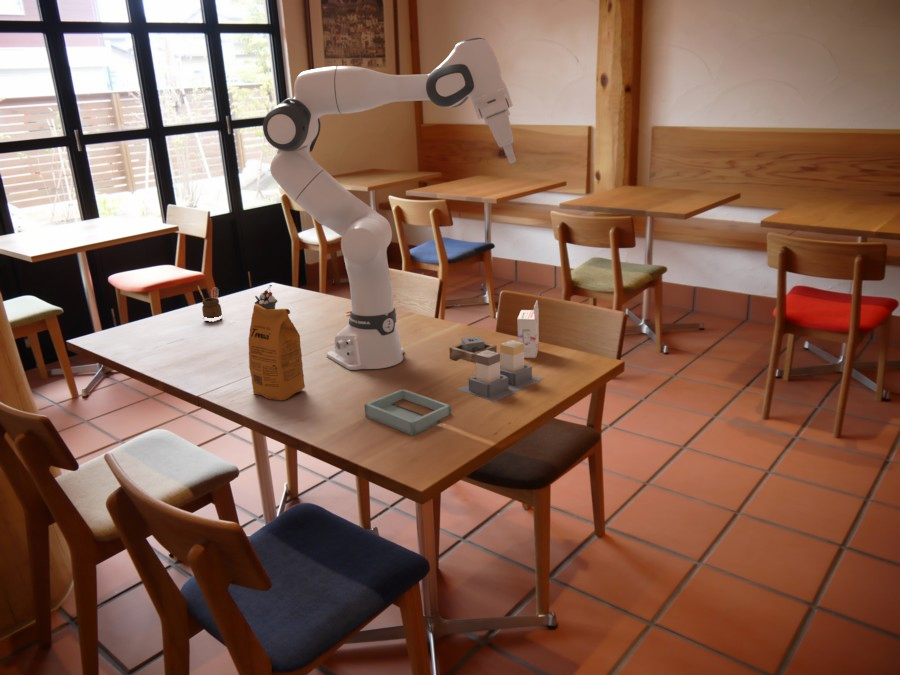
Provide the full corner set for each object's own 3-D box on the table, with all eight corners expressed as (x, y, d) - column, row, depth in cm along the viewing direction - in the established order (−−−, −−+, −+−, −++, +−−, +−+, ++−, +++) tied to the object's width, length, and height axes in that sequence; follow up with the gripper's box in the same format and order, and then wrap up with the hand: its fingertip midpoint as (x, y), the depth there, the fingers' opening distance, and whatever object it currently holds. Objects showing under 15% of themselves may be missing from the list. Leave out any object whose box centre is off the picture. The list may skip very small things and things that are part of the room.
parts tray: (365, 416, 167) (364, 404, 166) (403, 400, 174) (402, 388, 173) (412, 435, 156) (412, 422, 155) (451, 417, 164) (450, 405, 163)
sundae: (285, 331, 231) (280, 284, 226) (269, 337, 225) (264, 289, 221) (270, 328, 234) (264, 282, 229) (254, 334, 229) (248, 287, 224)
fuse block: (457, 393, 177) (456, 377, 176) (505, 371, 189) (505, 356, 188) (495, 405, 169) (495, 389, 168) (543, 382, 181) (543, 367, 180)
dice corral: (449, 358, 201) (449, 347, 200) (472, 349, 207) (471, 339, 206) (474, 365, 195) (474, 354, 194) (496, 356, 201) (496, 345, 200)
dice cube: (462, 355, 203) (461, 338, 201) (479, 353, 204) (479, 336, 202) (466, 361, 198) (466, 343, 196) (484, 359, 199) (484, 341, 198)
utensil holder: (222, 321, 244) (217, 286, 240) (202, 323, 242) (196, 288, 239) (223, 316, 249) (218, 282, 245) (203, 318, 248) (198, 283, 244)
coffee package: (276, 381, 190) (266, 298, 183) (311, 390, 183) (302, 304, 176) (246, 394, 182) (234, 308, 175) (281, 404, 175) (270, 315, 168)
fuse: (500, 379, 182) (500, 344, 179) (511, 374, 185) (511, 340, 182) (513, 382, 179) (513, 347, 177) (524, 377, 182) (524, 343, 179)
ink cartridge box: (521, 350, 205) (520, 298, 200) (539, 350, 204) (538, 299, 199) (517, 360, 197) (516, 307, 192) (536, 361, 196) (535, 307, 191)
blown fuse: (476, 390, 176) (475, 354, 173) (487, 384, 179) (486, 349, 176) (489, 394, 173) (488, 357, 170) (500, 388, 176) (499, 353, 173)
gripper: (481, 109, 189) (500, 162, 192) (480, 111, 169) (500, 169, 173) (504, 100, 188) (523, 153, 191) (506, 101, 168) (526, 159, 172)
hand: (512, 161), depth 182 cm, fingers open, 8 cm apart
